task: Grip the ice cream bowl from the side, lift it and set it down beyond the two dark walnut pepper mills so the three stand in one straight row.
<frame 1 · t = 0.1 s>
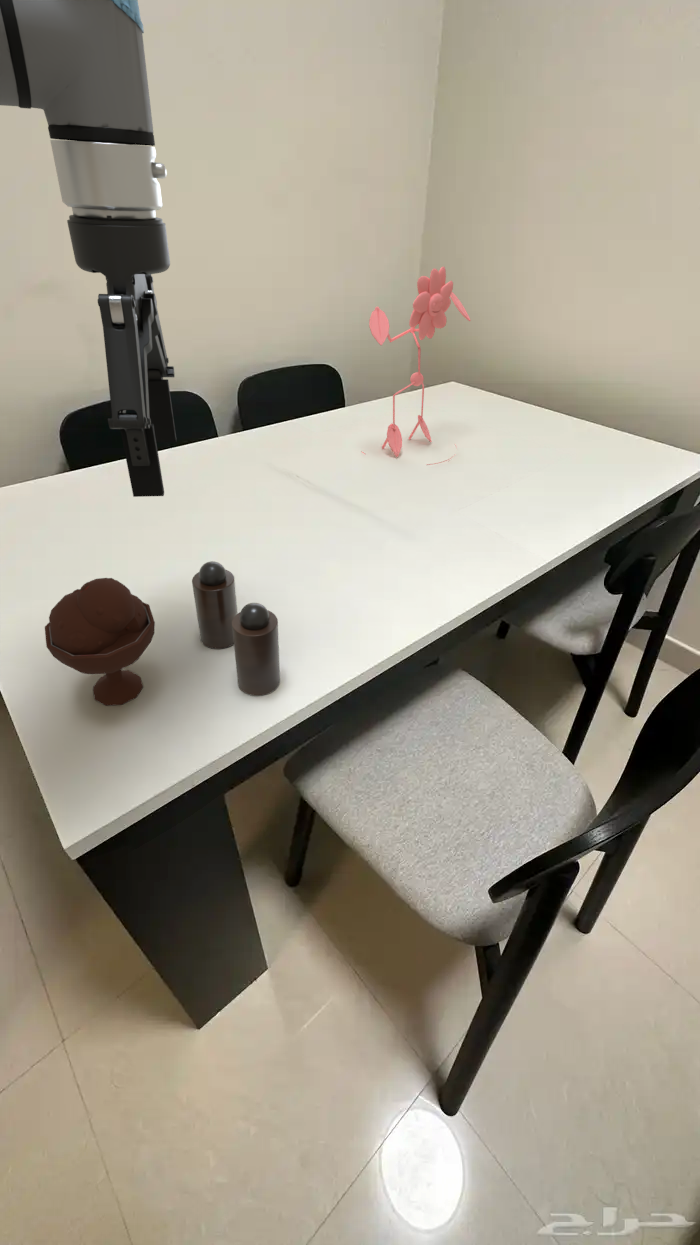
hand: (157, 466, 60), 24 cm above the table, tool pointing down, fingers open, 13 cm apart
walnut mill near: (259, 680, 69), on the table
figurine: (418, 453, 128), on the table
walnut mill middle: (220, 636, 75), on the table
ice cream bowl: (118, 689, 67), on the table
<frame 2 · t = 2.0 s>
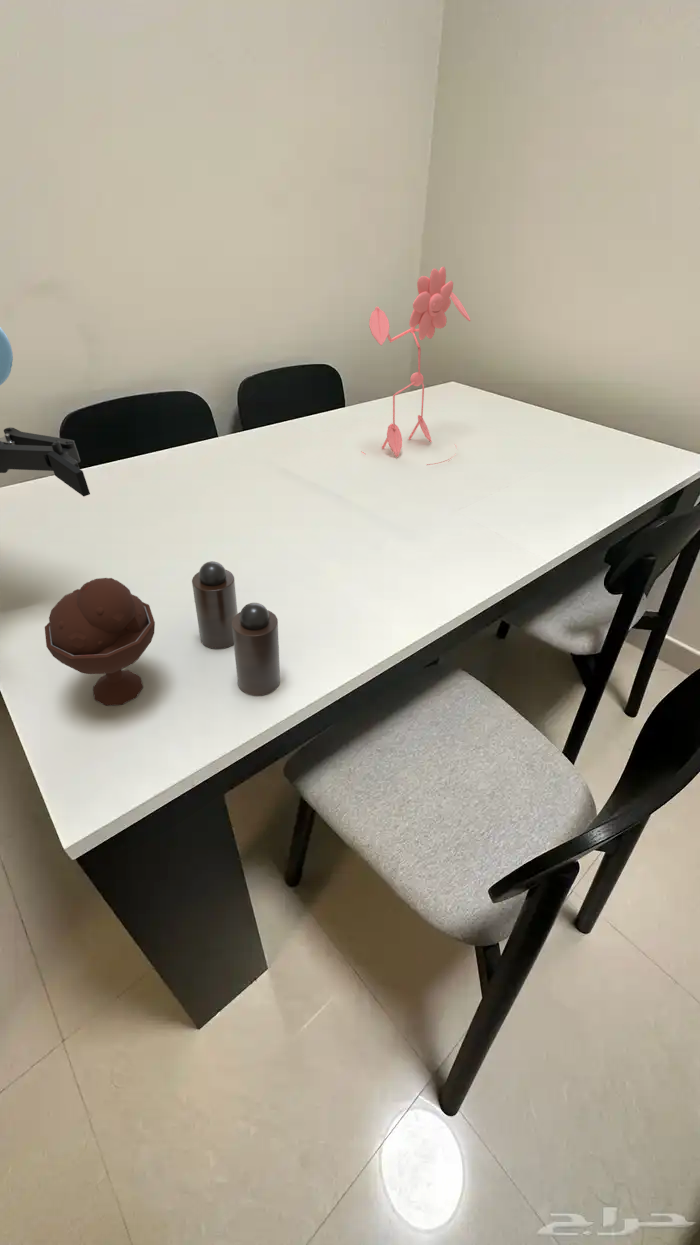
hand: (19, 508, 57), 21 cm above the table, tool horizontal, fingers open, 13 cm apart
nothing on the table moved.
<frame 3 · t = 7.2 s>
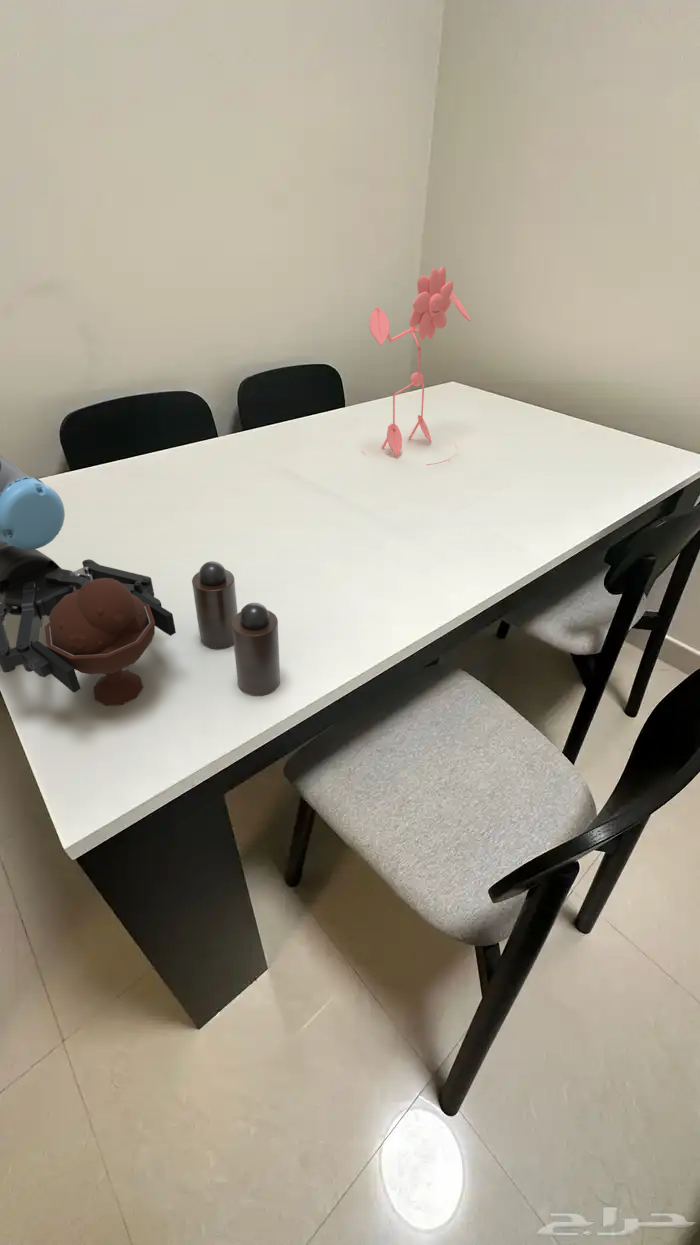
hand: (125, 651, 60), 8 cm above the table, tool horizontal, fingers closed on ice cream bowl, 11 cm apart
ice cream bowl: (118, 689, 67), on the table, touching gripper
everything else where it was.
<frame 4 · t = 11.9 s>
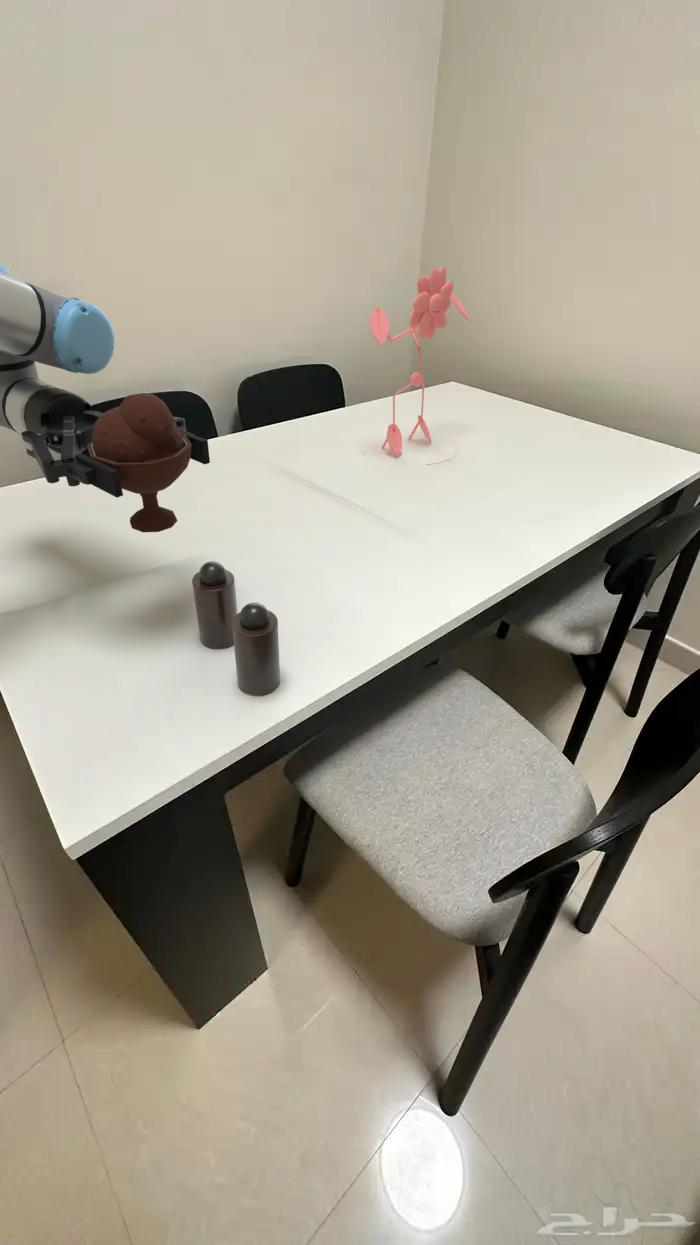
hand: (164, 467, 63), 22 cm above the table, tool horizontal, fingers closed on ice cream bowl, 11 cm apart
ice cream bowl: (154, 522, 70), point 14 cm above the table, touching gripper
everything else where it was.
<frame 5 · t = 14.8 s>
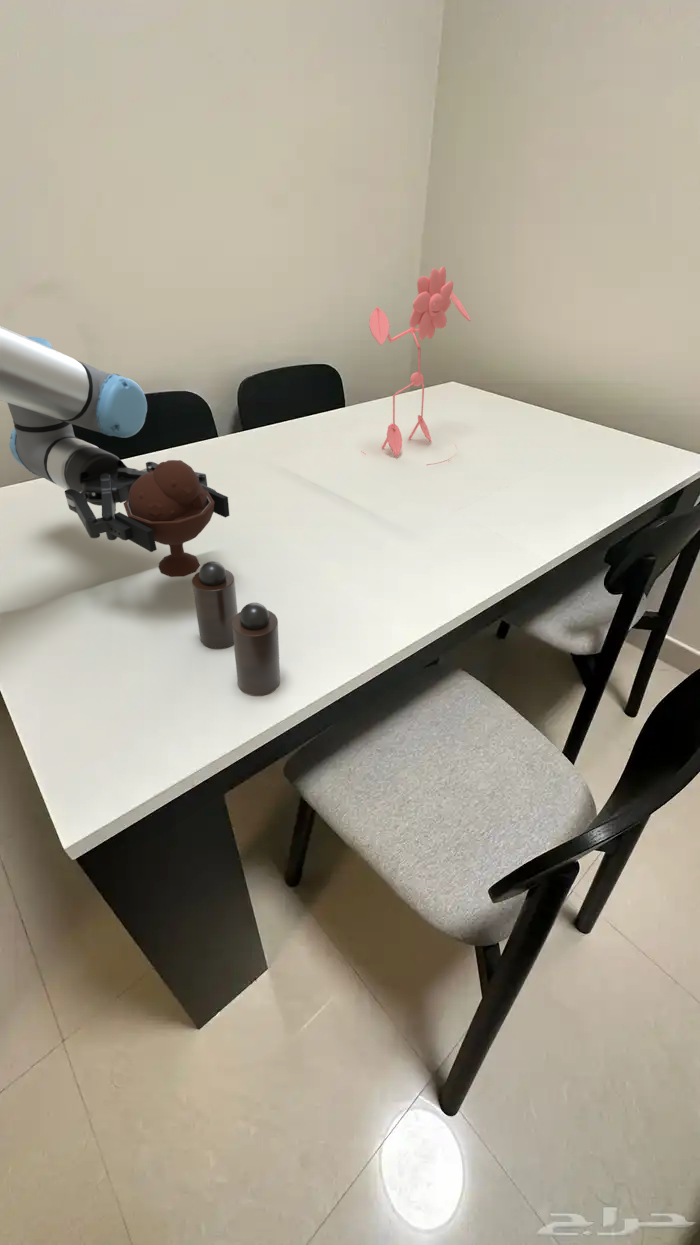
hand: (191, 523, 72), 13 cm above the table, tool horizontal, fingers closed on ice cream bowl, 11 cm apart
ice cream bowl: (179, 567, 79), point 5 cm above the table, touching gripper
everything else where it was.
when the fingers open (8 cm above the table, at t = 16.9 s): ice cream bowl stays where it is, on the table.
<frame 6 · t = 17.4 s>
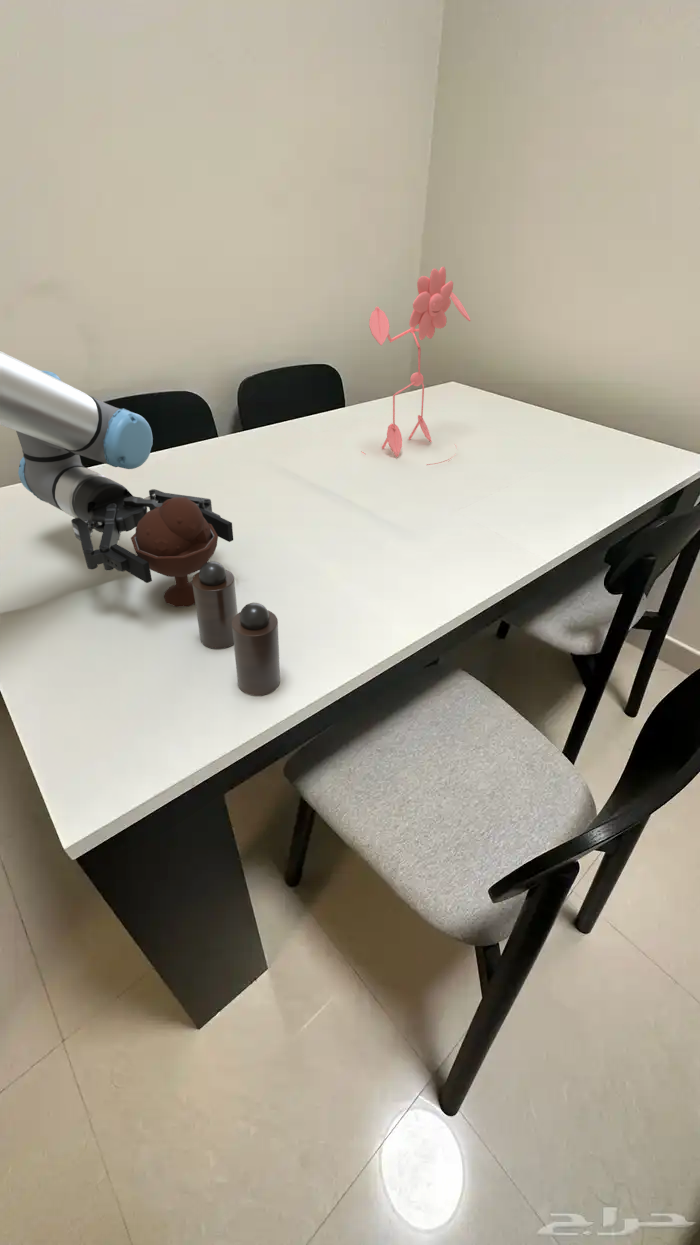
hand: (191, 551, 75), 9 cm above the table, tool horizontal, fingers open, 13 cm apart
ice cream bowl: (184, 596, 82), on the table
everything else where it was.
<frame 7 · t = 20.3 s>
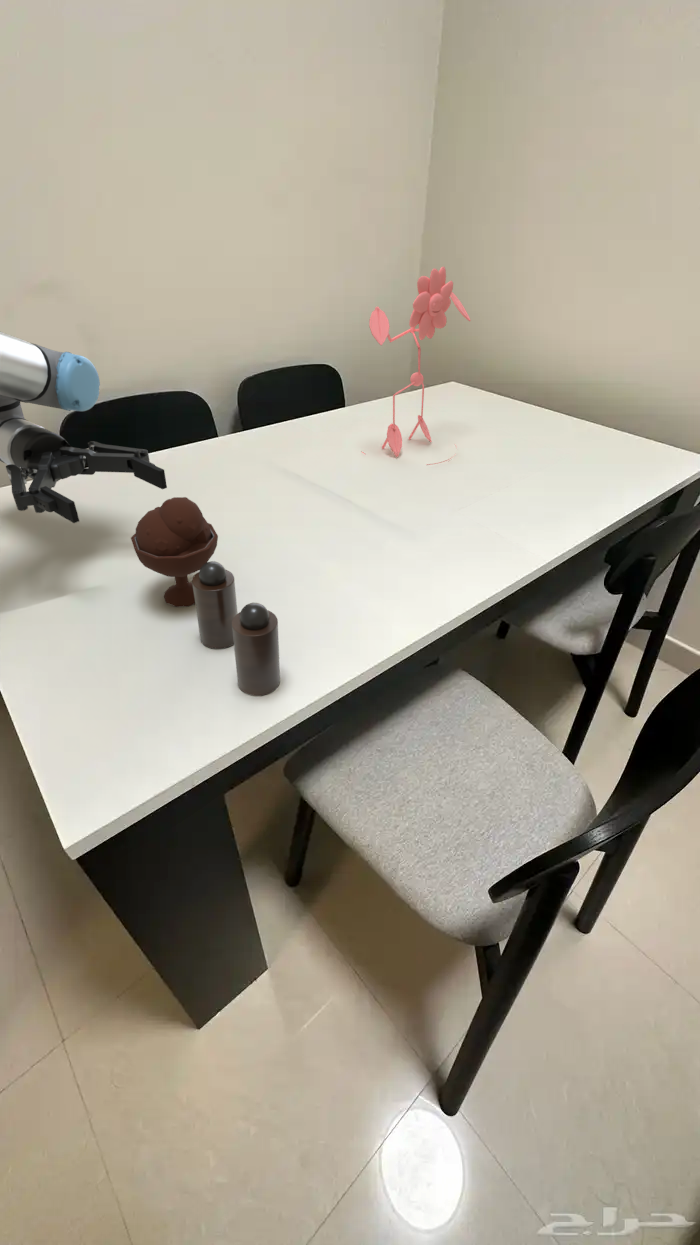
hand: (121, 495, 77), 13 cm above the table, tool horizontal, fingers open, 13 cm apart
nothing on the table moved.
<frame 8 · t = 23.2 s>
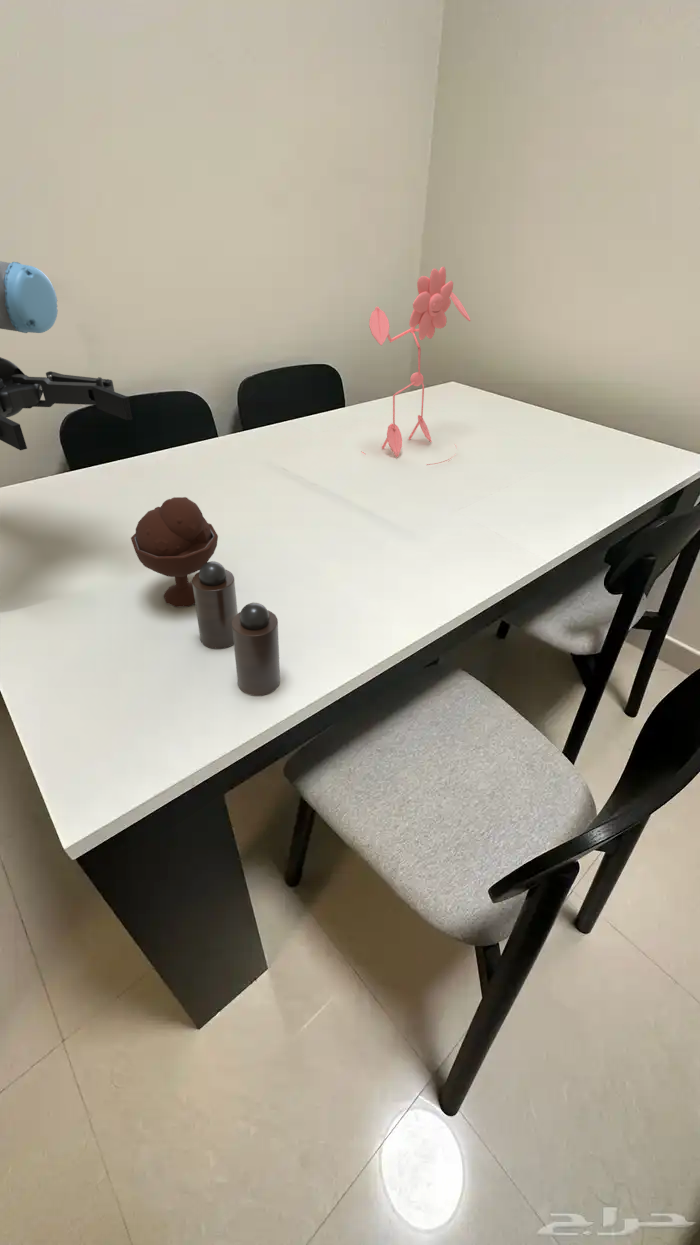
hand: (77, 422, 67), 24 cm above the table, tool horizontal, fingers open, 13 cm apart
nothing on the table moved.
at the end: ice cream bowl 0.0 cm from the target spot, on the table; ice cream bowl tilted 0°; walnut mill middle moved 0.0 cm from its start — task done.
